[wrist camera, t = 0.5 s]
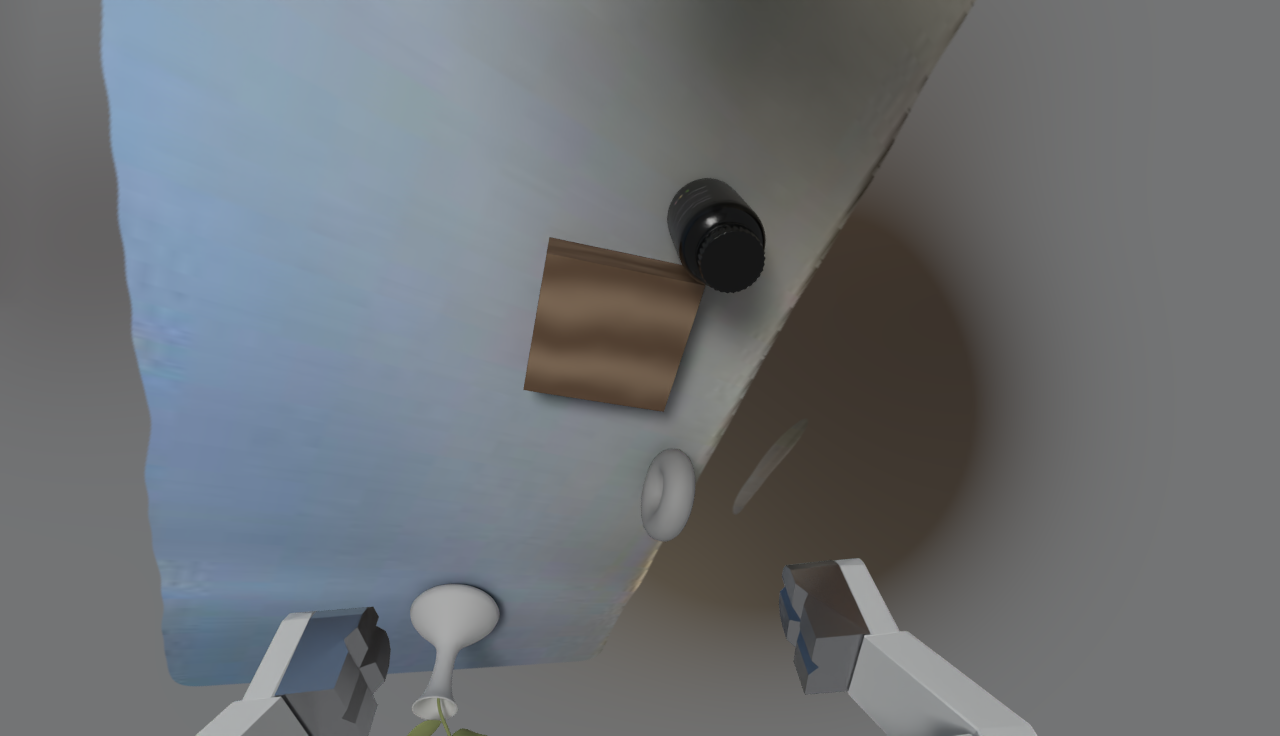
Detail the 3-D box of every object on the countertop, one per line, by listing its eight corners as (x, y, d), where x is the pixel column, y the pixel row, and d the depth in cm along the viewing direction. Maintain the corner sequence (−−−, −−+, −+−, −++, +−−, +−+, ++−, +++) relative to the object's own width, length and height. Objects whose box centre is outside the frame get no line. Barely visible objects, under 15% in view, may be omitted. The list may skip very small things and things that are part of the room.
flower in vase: (397, 610, 76) (325, 841, 55) (441, 563, 72) (380, 792, 51) (483, 641, 81) (447, 863, 60) (528, 599, 77) (506, 821, 56)
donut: (659, 496, 69) (670, 564, 60) (633, 490, 68) (640, 558, 59) (691, 434, 64) (708, 498, 55) (663, 427, 63) (675, 491, 55)
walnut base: (549, 237, 51) (547, 253, 47) (697, 268, 53) (705, 285, 50) (527, 367, 57) (523, 389, 54) (659, 389, 60) (663, 411, 57)
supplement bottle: (757, 210, 51) (799, 259, 41) (703, 265, 53) (731, 324, 43) (703, 158, 48) (735, 196, 38) (649, 218, 50) (666, 270, 40)
